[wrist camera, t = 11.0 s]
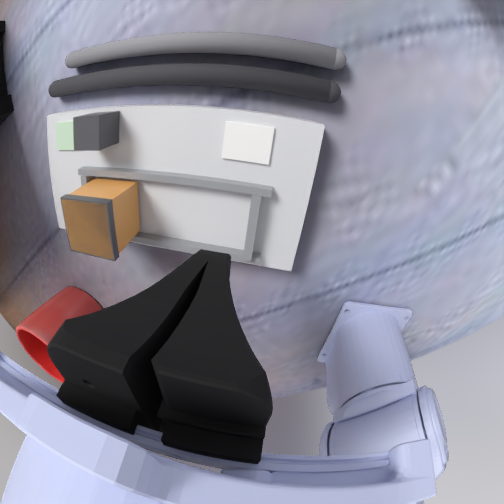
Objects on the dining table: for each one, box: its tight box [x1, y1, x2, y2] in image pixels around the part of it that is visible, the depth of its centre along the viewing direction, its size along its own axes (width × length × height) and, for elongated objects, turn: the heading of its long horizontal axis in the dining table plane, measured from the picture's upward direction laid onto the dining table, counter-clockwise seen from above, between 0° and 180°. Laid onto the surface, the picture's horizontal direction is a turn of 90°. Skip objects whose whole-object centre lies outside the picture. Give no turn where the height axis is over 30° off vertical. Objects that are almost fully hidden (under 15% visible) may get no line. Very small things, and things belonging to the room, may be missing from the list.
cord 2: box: [49, 63, 341, 103], centre depth 15 cm, size 2×24×2 cm, turn 83°
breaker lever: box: [60, 178, 140, 261], centre depth 17 cm, size 4×4×4 cm
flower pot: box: [16, 287, 102, 383], centre depth 26 cm, size 11×11×10 cm
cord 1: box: [65, 32, 346, 70], centre depth 14 cm, size 2×22×2 cm, turn 82°
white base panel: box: [47, 104, 325, 271], centre depth 18 cm, size 11×22×4 cm, turn 82°
